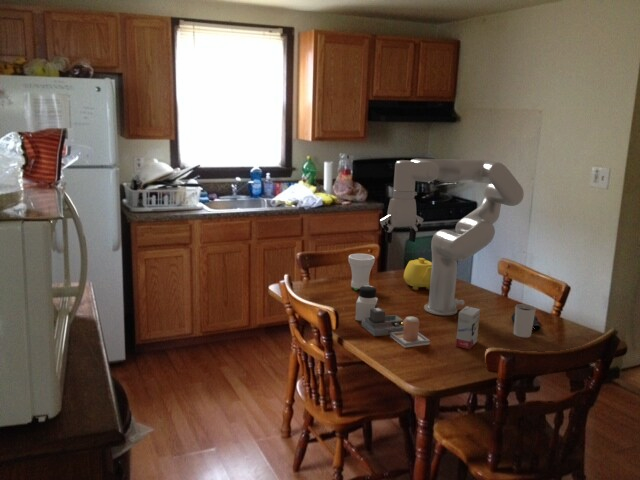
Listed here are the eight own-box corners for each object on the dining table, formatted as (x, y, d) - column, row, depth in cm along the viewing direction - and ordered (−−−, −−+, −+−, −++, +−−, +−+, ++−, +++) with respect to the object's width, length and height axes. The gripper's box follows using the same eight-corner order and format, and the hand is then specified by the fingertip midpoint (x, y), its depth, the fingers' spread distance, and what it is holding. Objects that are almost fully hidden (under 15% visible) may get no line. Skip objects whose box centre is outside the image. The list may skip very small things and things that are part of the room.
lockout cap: (412, 334, 197) (414, 315, 195) (420, 340, 193) (422, 320, 191) (399, 336, 195) (401, 316, 194) (407, 342, 191) (409, 322, 189)
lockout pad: (414, 333, 200) (415, 329, 200) (429, 344, 191) (429, 340, 191) (390, 336, 197) (390, 332, 196) (404, 347, 188) (404, 343, 188)
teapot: (427, 280, 264) (429, 253, 261) (444, 294, 245) (447, 265, 242) (398, 281, 261) (400, 253, 258) (413, 295, 242) (415, 265, 239)
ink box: (469, 350, 188) (472, 315, 186) (454, 346, 191) (458, 312, 188) (477, 341, 195) (480, 308, 193) (463, 338, 198) (466, 305, 195)
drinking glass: (521, 339, 199) (525, 311, 197) (508, 332, 205) (511, 305, 203) (536, 336, 202) (540, 309, 200) (522, 329, 208) (525, 303, 206)
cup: (348, 283, 254) (349, 252, 251) (373, 285, 252) (375, 254, 249) (345, 291, 243) (347, 259, 240) (372, 293, 241) (374, 261, 238)
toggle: (379, 320, 204) (380, 307, 203) (384, 323, 201) (385, 310, 199) (369, 321, 202) (370, 308, 201) (374, 324, 199) (375, 311, 198)
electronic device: (542, 337, 206) (535, 317, 220) (542, 323, 204) (535, 304, 218) (514, 337, 208) (510, 317, 222) (514, 323, 206) (509, 304, 220)
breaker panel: (396, 321, 210) (397, 312, 210) (410, 332, 201) (411, 322, 201) (361, 325, 205) (362, 315, 204) (374, 336, 196) (374, 326, 195)
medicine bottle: (374, 322, 209) (376, 290, 206) (355, 320, 210) (356, 289, 208) (376, 316, 216) (378, 285, 213) (357, 314, 217) (359, 283, 214)
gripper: (419, 193, 214) (415, 238, 218) (377, 194, 207) (374, 240, 211) (430, 196, 207) (426, 243, 211) (387, 197, 201) (383, 245, 205)
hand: (400, 241), depth 211 cm, fingers open, 9 cm apart
